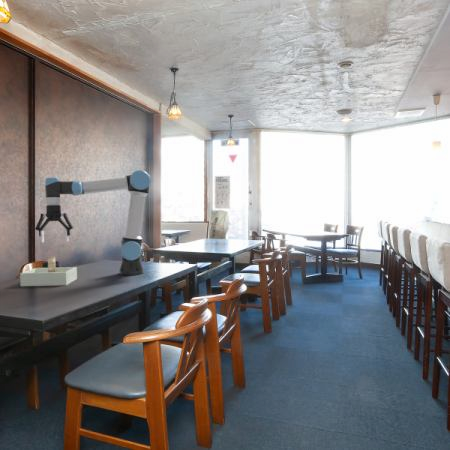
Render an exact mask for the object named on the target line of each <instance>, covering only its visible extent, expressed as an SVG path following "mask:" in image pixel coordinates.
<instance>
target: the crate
mask: <svg viewBox="0 0 450 450" xmlns="http://www.w3.org/2000/svg"><path fill="white" fill-rule="evenodd" d="M19 274H20V276H19V280H20V287H41V286H42V287H43V286H45V287H47V286H49V287H50V286H68V285H70V284H71V283H72V282H74V281H76V280H77V279H78V266H73V267H60V268H56V272H48V268H42V267H34V268H31V269H28V270H25V271H23V272H20V273H19Z"/></svg>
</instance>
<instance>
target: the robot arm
mask: <svg viewBox="0 0 450 450" xmlns="http://www.w3.org/2000/svg"><path fill="white" fill-rule="evenodd" d="M44 180H45V184H44V185H45V187H44V188H45V204H46V206H45V208H46V209H45V210H46V211H45V212H46V213H40V218H39V220H38V222H37V224H36V225H35V228H34V229H35V231H38V237H40V243H45V230H44V229H45V228H46V227H47V225H48V224H49V223H50V222H59V223H60V224H61V225H62V227H63V228H64V229H65V230H64V231H65V232H64V234H65V242H66V243H68V242H69V237H70V236H71V230H73V229H74V226H73V224H72V223H71V220H69V219H70V218H69V217H68V214H67V213H66V212H64V213H62V211H61V210H62V209H61V207H62V206H61V195H72V196H75V197H77V196H82V195H86V194H88V195H89V194H99V193H105V192H106V193H107V192H114V191H115V192H117V191H124V190H125V191H127V192H128V193H129V194H130V199H129V207H128V216H127V223H126V231H125V234H124V235H123V236H122V238H121V241H120V243H121V247H120V254H121V263H120V267H119V271H118V274H119V275H121V276H135V275H142V274H144V267H143V263H142V262H141V254H142V252H143V251H142V246H143V237H142V236H141V234H142V226H143V218H144V209H145V202H146V197H147V196H148V195H149V191H150V186H151V180H152V179H151V175H150V174H149V173H148V172H147V171H146V170H141V169H138V170H135V171H133V172H132V173H131V174H130V175H129V174H128V175H125V176H124V177H118V178H117V177H116V178H108V179H107V178H106V179H97V180H87V181H79V180H78V181H77V180H74V181H65V180H64V181H63V180H62V181H61V180H60V178H59V177H47V178H45V179H44ZM45 217H46V219H45ZM62 218H63V219H64V220H65V221H64V220H63V219H62ZM44 219H45V221H44ZM43 221H44V222H43ZM65 222H66V223H65ZM42 223H43V224H42Z"/></svg>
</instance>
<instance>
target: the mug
mask: <svg viewBox="0 0 450 450" xmlns="http://www.w3.org/2000/svg"><path fill="white" fill-rule="evenodd" d="M41 268H48V261H44V262H41ZM56 268H61V266H60V262H59V261H56Z"/></svg>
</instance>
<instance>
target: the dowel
mask: <svg viewBox="0 0 450 450" xmlns="http://www.w3.org/2000/svg"><path fill="white" fill-rule="evenodd" d="M47 262H48V272H56V256H48V257H47Z"/></svg>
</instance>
